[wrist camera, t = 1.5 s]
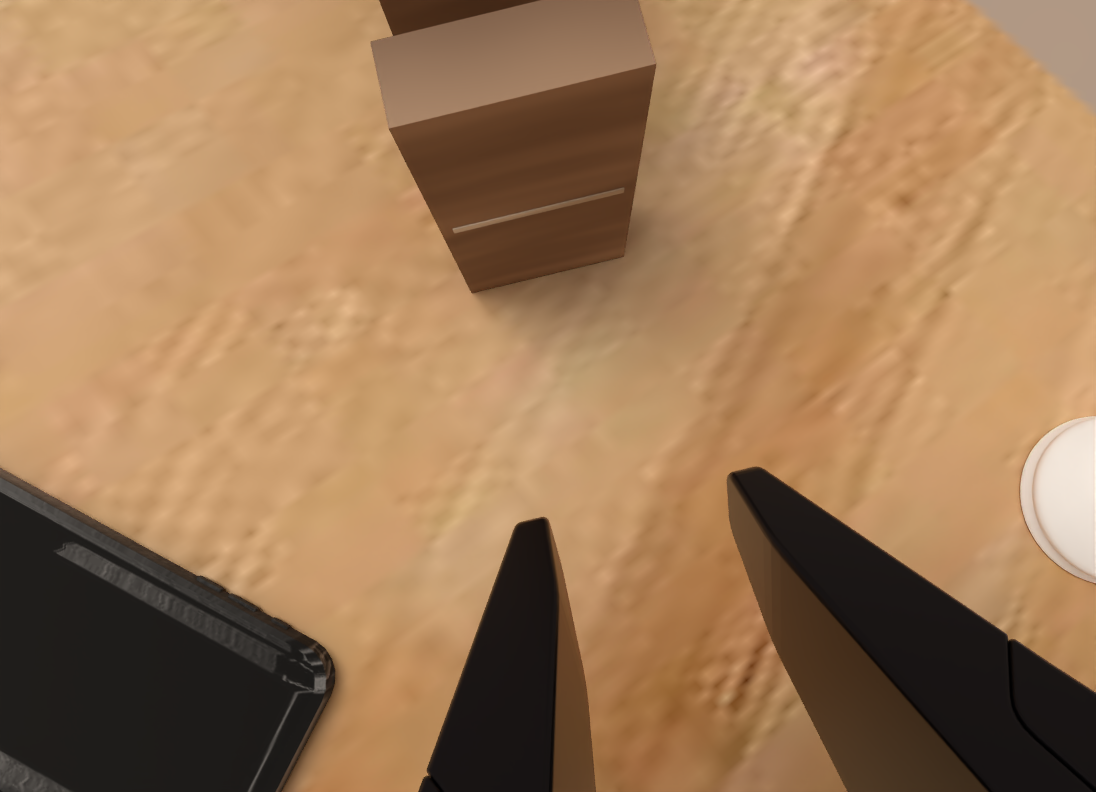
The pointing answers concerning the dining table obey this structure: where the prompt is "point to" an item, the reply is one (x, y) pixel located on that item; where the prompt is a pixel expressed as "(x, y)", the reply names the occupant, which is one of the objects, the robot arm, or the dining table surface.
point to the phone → (138, 666)
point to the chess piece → (1064, 496)
